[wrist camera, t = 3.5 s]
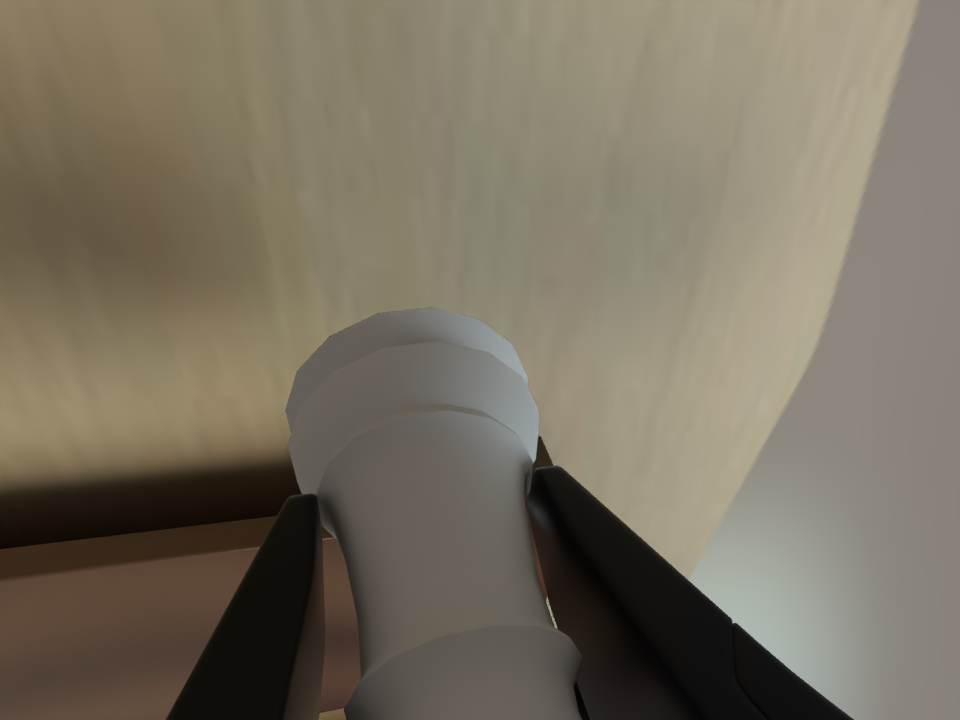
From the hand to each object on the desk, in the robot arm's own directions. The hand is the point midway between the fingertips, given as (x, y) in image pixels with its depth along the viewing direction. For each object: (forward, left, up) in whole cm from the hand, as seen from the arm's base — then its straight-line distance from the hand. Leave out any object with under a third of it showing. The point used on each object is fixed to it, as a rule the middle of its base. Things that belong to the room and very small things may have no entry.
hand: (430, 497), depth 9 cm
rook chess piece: (0, 0, -3) cm, 3 cm away
